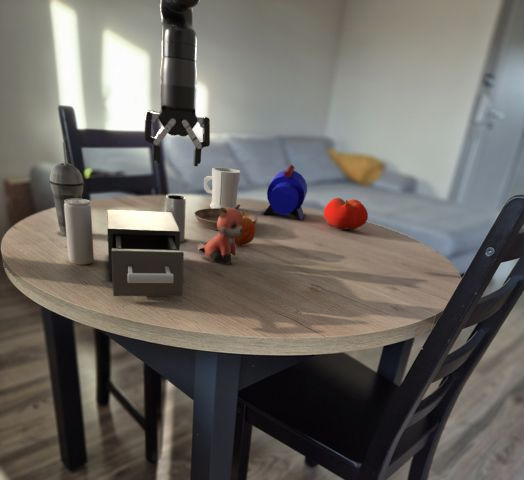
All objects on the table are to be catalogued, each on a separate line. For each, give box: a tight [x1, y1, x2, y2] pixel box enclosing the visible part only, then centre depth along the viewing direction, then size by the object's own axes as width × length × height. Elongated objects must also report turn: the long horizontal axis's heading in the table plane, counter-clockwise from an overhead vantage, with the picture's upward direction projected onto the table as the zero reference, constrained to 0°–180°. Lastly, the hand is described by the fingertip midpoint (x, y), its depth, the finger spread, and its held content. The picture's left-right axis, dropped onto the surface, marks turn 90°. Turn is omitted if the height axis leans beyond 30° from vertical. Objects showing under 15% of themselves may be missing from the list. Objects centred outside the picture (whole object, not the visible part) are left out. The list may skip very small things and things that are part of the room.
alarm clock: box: [263, 164, 308, 221], centre depth 153 cm, size 12×12×15 cm
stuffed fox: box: [197, 204, 243, 265], centre depth 106 cm, size 8×11×12 cm
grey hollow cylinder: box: [165, 194, 187, 243], centre depth 115 cm, size 4×4×10 cm
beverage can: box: [64, 198, 95, 266], centre depth 94 cm, size 5×5×12 cm
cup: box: [203, 167, 241, 209], centre depth 151 cm, size 10×9×12 cm
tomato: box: [323, 197, 369, 231], centre depth 146 cm, size 14×13×9 cm
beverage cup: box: [49, 141, 85, 237], centre depth 109 cm, size 7×7×20 cm
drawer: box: [112, 234, 185, 297], centre depth 84 cm, size 19×12×8 cm, turn 16°
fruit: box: [234, 212, 256, 246], centre depth 119 cm, size 7×7×8 cm
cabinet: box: [106, 209, 181, 282], centre depth 95 cm, size 15×13×10 cm
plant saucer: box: [193, 207, 258, 231], centre depth 135 cm, size 18×18×3 cm
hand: (176, 164), depth 110 cm, fingers open, 8 cm apart
